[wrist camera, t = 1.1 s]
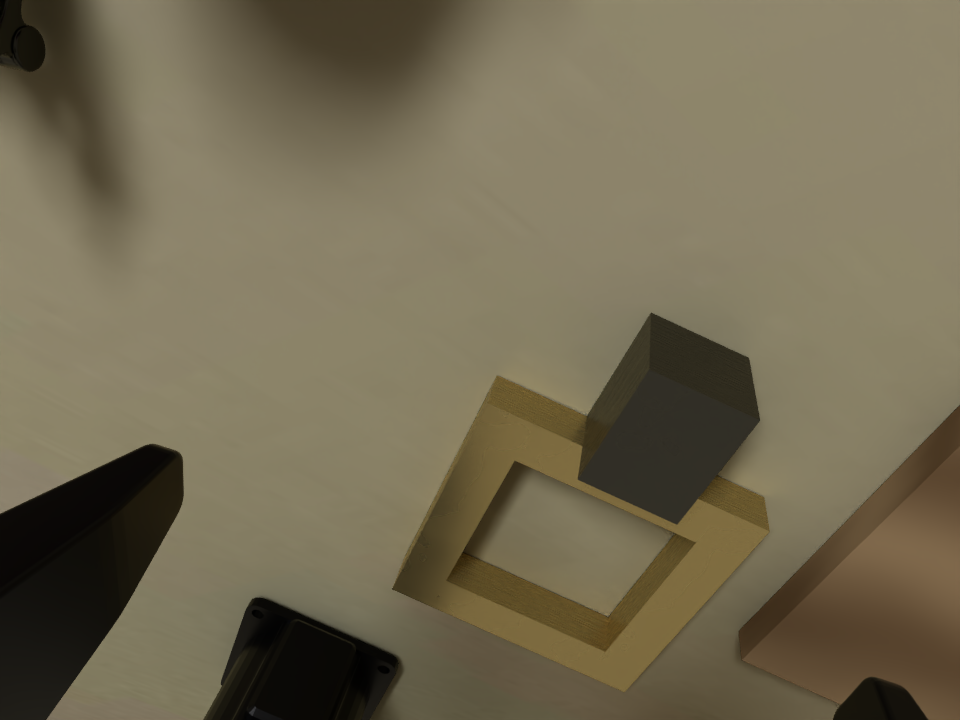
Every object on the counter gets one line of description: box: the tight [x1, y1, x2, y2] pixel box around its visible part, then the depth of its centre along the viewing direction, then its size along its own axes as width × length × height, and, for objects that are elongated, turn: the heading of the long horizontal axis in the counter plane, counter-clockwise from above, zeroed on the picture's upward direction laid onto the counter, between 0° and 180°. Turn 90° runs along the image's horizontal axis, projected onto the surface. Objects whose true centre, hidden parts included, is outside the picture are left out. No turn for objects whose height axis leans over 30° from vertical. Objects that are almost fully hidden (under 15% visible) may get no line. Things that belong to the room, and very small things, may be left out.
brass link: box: [392, 313, 770, 692], centre depth 24 cm, size 13×9×3 cm
